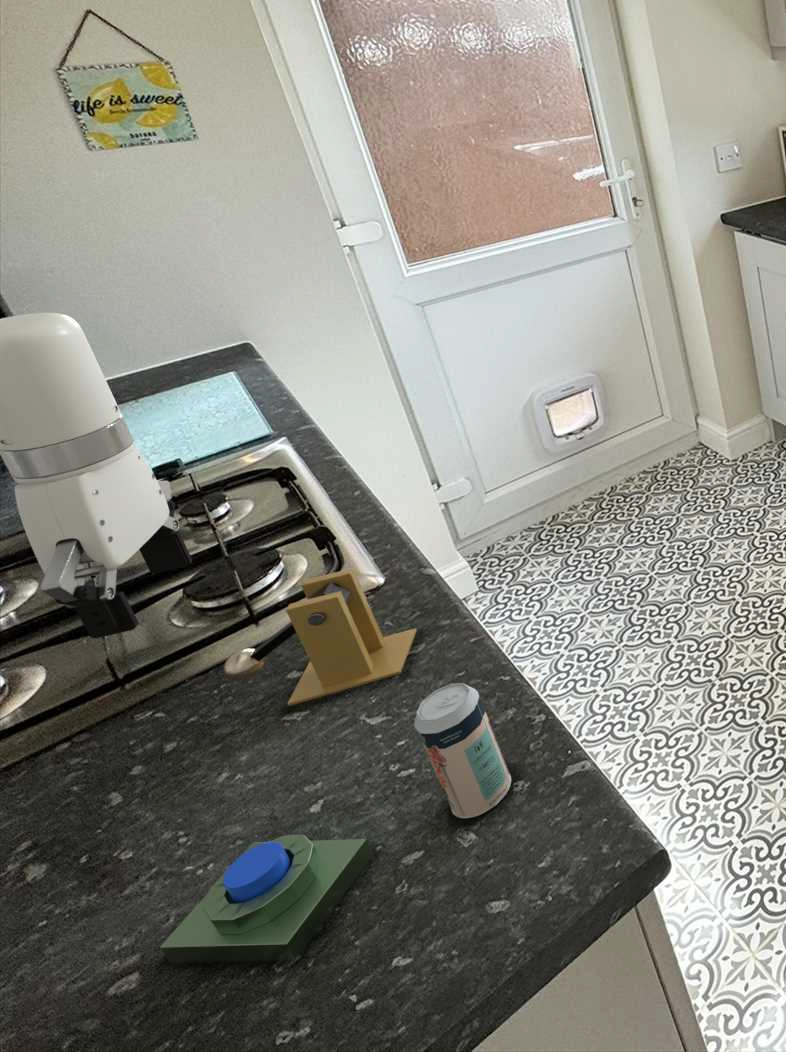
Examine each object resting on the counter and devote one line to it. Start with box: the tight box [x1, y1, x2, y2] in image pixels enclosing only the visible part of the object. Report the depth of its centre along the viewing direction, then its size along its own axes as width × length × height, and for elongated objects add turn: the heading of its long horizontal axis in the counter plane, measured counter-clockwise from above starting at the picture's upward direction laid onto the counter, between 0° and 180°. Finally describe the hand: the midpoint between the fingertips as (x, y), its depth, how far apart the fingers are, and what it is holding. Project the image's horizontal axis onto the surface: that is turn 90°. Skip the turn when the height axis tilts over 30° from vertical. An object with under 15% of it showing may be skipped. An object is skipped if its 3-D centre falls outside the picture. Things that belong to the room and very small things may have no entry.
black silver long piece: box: [222, 581, 351, 683], centre depth 83 cm, size 13×3×3 cm
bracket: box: [285, 568, 418, 707], centre depth 85 cm, size 10×7×12 cm
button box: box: [159, 834, 374, 964], centre depth 63 cm, size 10×8×4 cm
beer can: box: [413, 682, 512, 819], centre depth 70 cm, size 5×5×12 cm
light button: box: [223, 841, 290, 902], centre depth 62 cm, size 4×4×2 cm
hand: (145, 598), depth 77 cm, fingers open, 9 cm apart
